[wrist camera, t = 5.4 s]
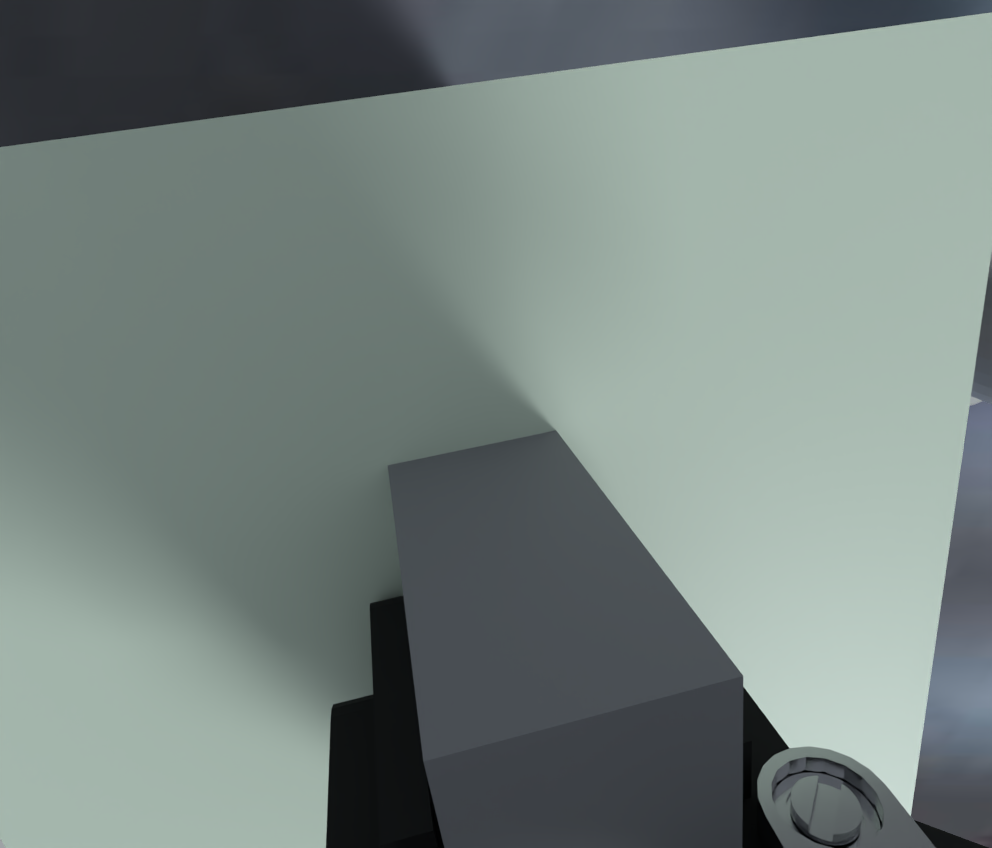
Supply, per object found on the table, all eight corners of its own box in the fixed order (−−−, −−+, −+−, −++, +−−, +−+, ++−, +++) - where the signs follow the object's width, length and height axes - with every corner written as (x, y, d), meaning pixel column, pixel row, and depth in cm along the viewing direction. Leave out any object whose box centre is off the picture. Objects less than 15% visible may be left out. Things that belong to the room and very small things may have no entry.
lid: (909, 34, 11) (1765, -160, 4) (845, 770, 17) (1152, 1148, 10) (-231, 191, 8) (-2017, 283, 2) (174, 967, 15) (36, 1596, 8)
